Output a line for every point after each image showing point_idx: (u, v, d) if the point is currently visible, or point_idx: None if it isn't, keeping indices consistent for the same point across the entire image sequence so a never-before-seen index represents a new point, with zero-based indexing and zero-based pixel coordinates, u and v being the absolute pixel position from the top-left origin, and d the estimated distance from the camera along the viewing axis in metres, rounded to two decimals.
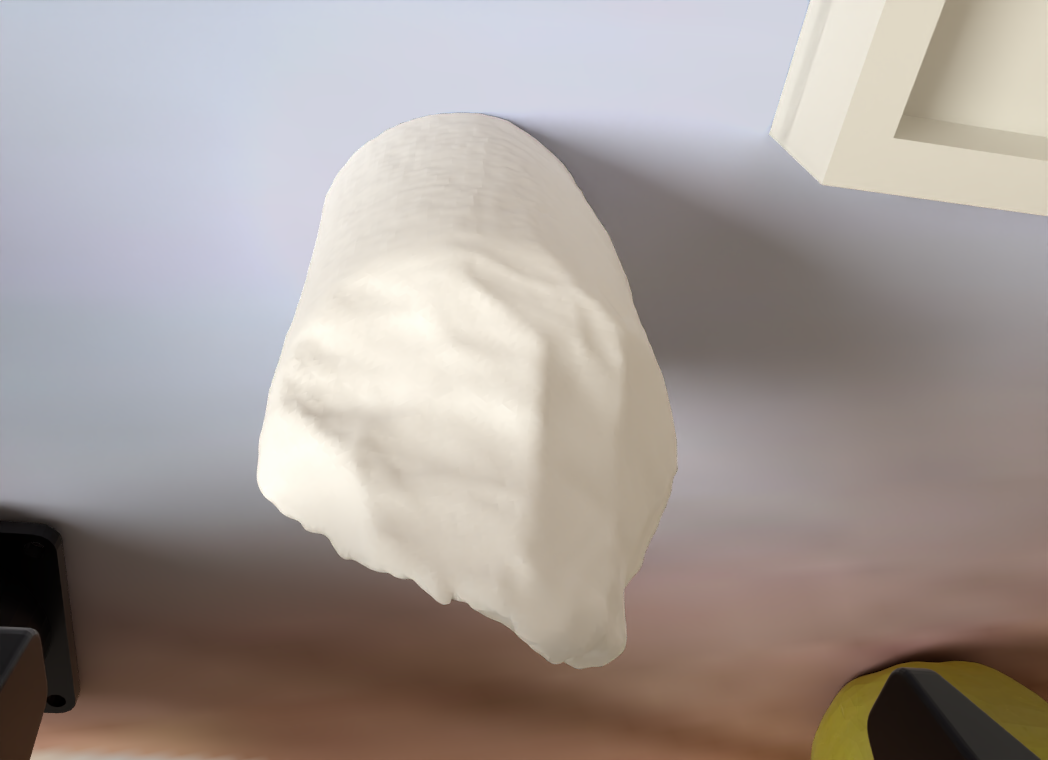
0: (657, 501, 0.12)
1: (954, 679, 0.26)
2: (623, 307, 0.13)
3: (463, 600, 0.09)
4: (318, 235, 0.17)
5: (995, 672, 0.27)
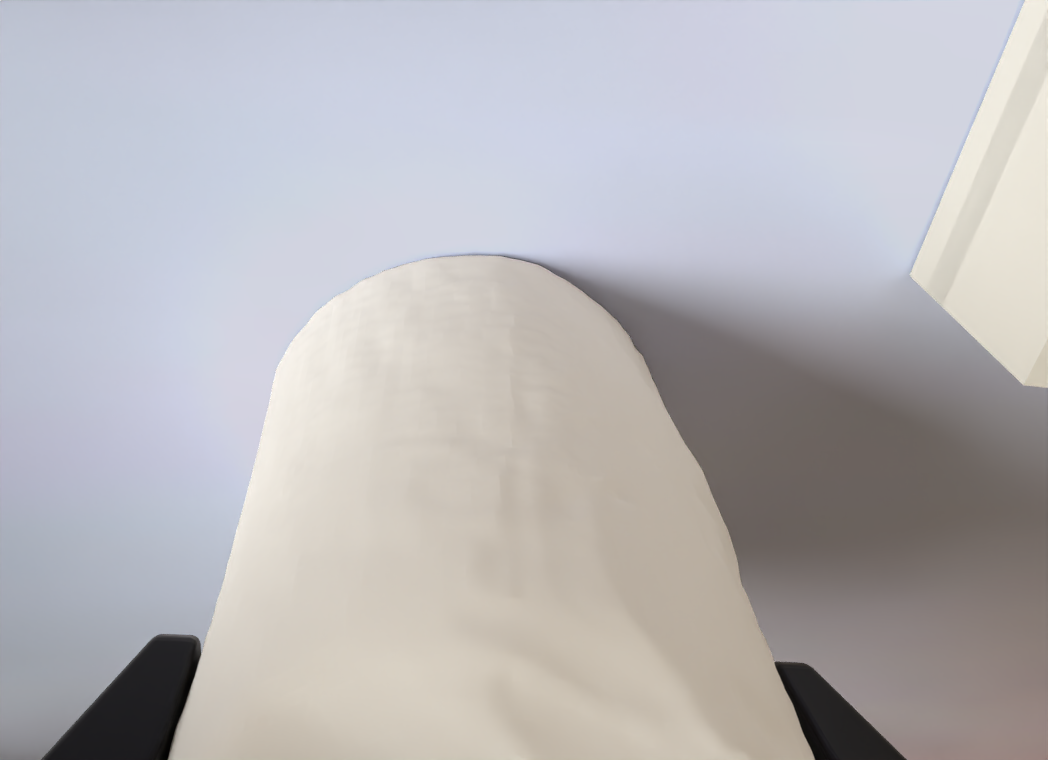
0: None
1: None
2: (775, 716, 0.07)
3: None
4: (256, 461, 0.11)
5: None
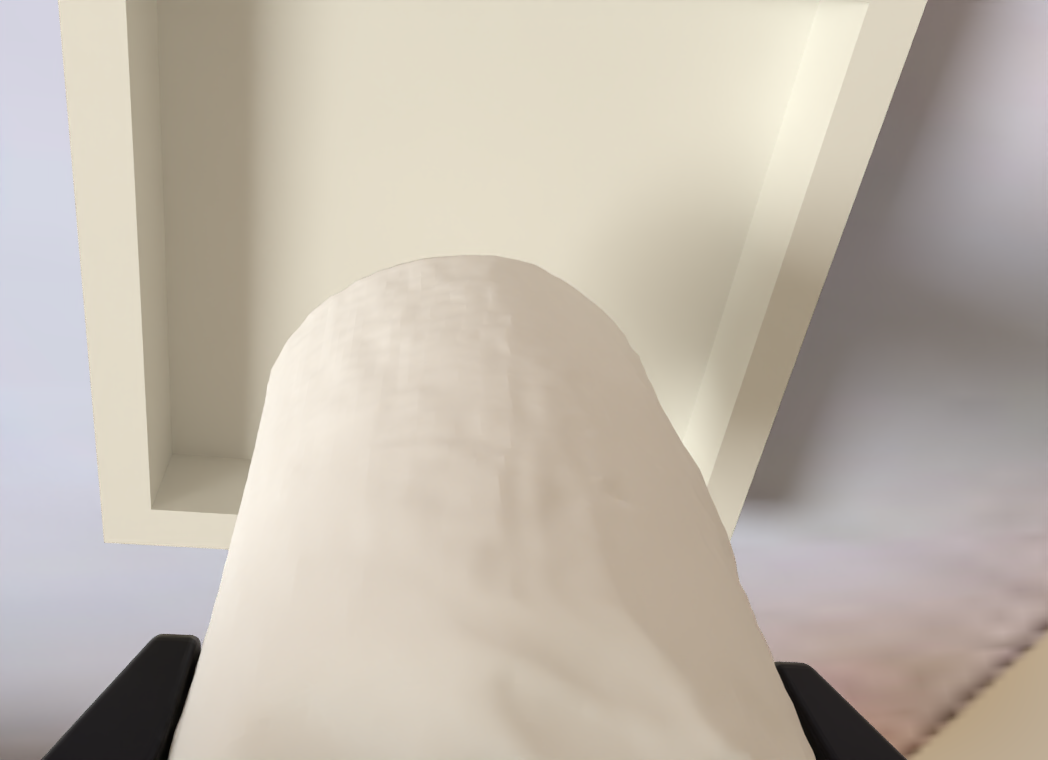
0: None
1: None
2: (777, 716, 0.07)
3: None
4: (252, 462, 0.11)
5: None
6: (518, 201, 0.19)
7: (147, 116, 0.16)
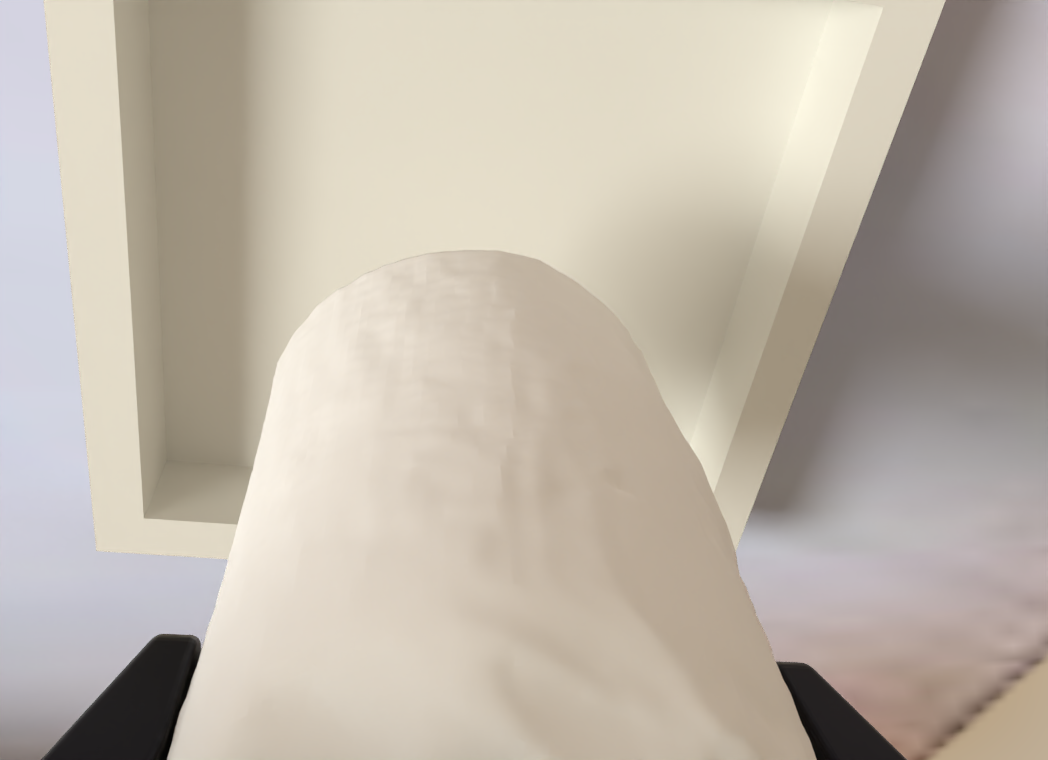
0: None
1: None
2: (773, 703, 0.07)
3: None
4: (258, 452, 0.11)
5: None
6: (519, 207, 0.18)
7: (138, 120, 0.16)
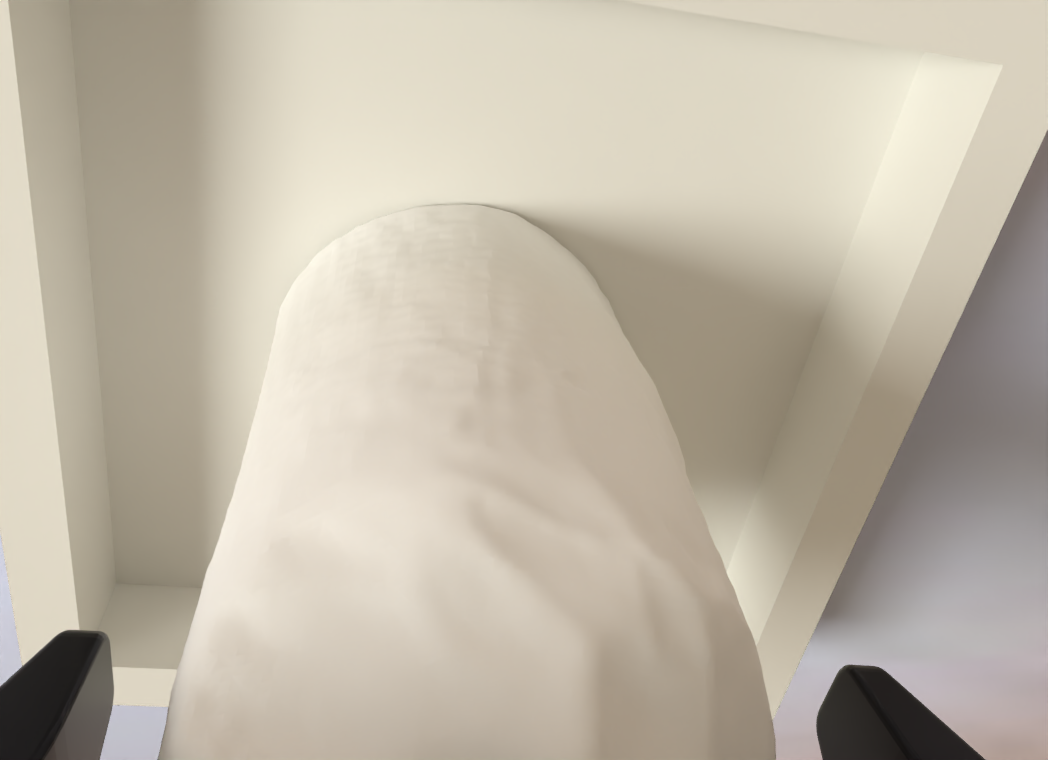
0: None
1: None
2: (700, 548, 0.09)
3: None
4: (265, 377, 0.13)
5: None
6: None
7: (61, 203, 0.13)
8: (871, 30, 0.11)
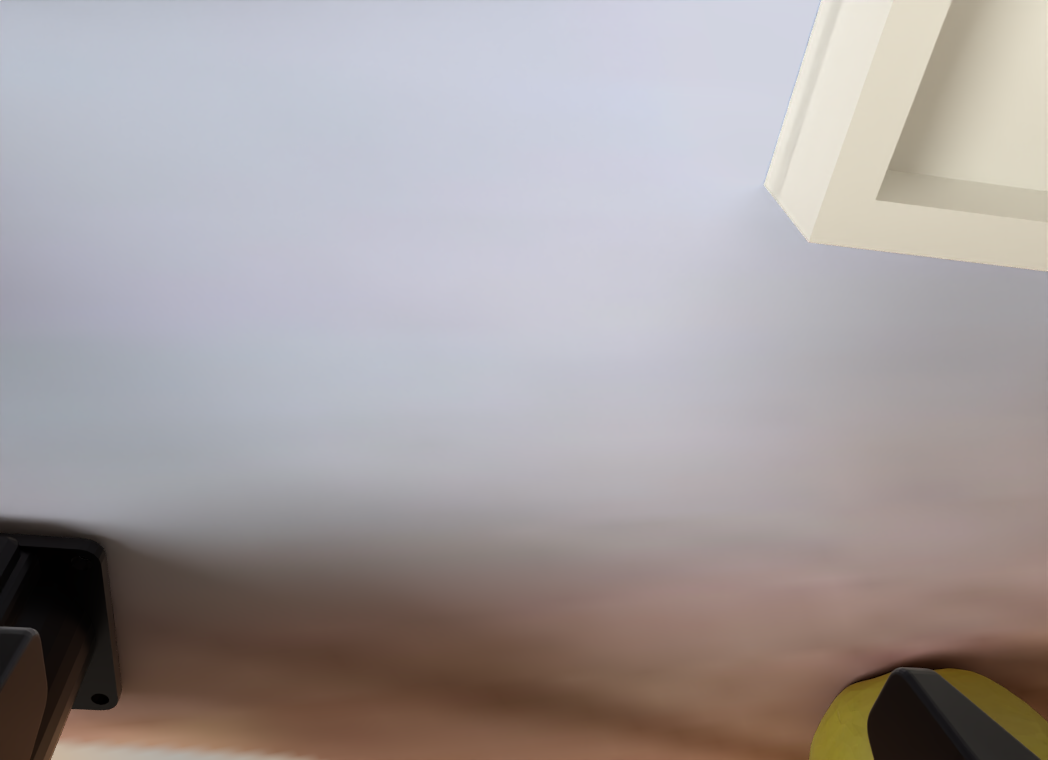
0: None
1: None
2: None
3: None
4: None
5: (986, 680, 0.28)
6: None
7: None
8: None
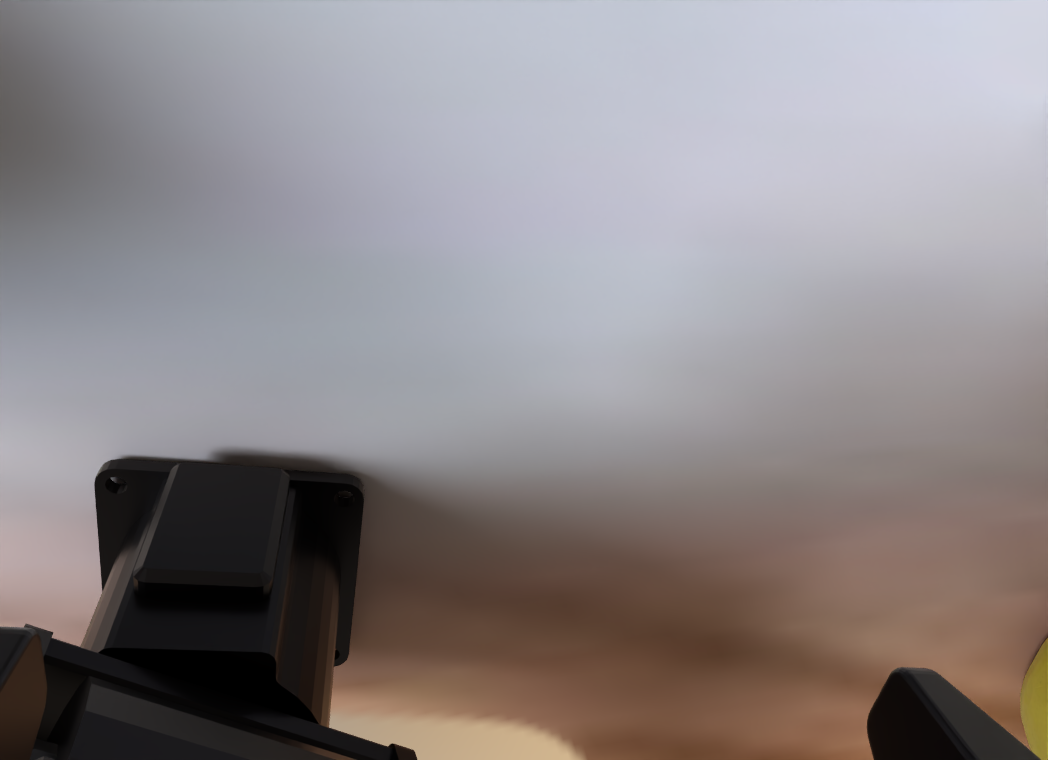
0: None
1: None
2: None
3: None
4: None
5: None
6: None
7: None
8: None
